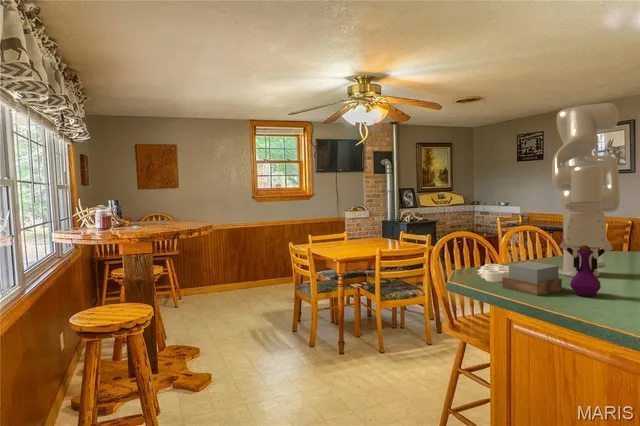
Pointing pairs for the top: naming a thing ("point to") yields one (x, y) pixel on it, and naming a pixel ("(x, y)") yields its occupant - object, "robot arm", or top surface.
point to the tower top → (533, 272)
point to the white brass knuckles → (494, 272)
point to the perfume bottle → (585, 276)
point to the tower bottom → (532, 286)
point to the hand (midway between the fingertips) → (585, 270)
